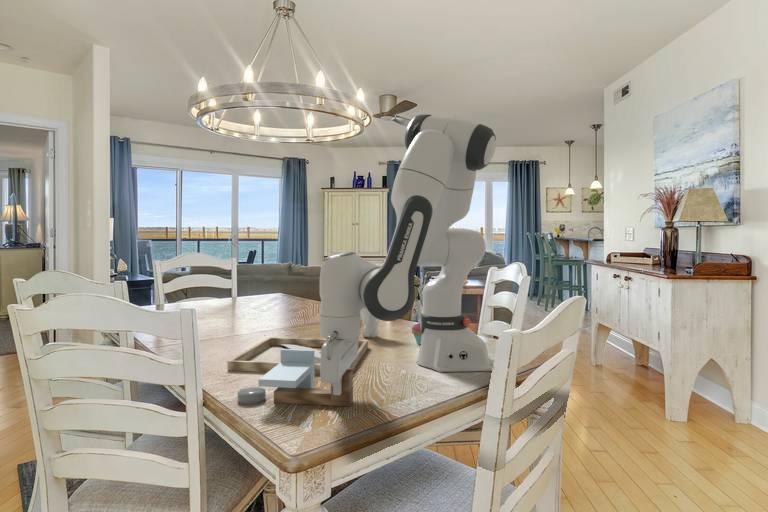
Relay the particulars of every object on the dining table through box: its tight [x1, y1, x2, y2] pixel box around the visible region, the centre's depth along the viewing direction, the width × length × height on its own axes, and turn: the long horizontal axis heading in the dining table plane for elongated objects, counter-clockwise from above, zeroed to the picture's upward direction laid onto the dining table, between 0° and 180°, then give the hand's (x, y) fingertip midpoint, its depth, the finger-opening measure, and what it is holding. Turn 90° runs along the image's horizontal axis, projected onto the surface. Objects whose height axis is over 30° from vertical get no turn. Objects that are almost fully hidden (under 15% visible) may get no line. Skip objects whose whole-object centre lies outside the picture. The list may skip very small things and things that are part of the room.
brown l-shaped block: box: [273, 369, 354, 407], centre depth 98 cm, size 17×4×7 cm, turn 82°
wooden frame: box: [226, 336, 369, 375], centre depth 135 cm, size 34×30×2 cm
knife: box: [279, 344, 321, 364], centre depth 138 cm, size 37×8×2 cm, turn 39°
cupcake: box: [411, 307, 422, 345], centre depth 154 cm, size 9×8×12 cm
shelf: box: [258, 348, 316, 388], centre depth 100 cm, size 8×14×10 cm, turn 173°
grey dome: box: [237, 386, 267, 406], centre depth 100 cm, size 6×6×2 cm
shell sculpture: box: [360, 308, 380, 338], centre depth 164 cm, size 8×8×18 cm
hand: (340, 390), depth 98 cm, fingers closed on brown l-shaped block, 3 cm apart
